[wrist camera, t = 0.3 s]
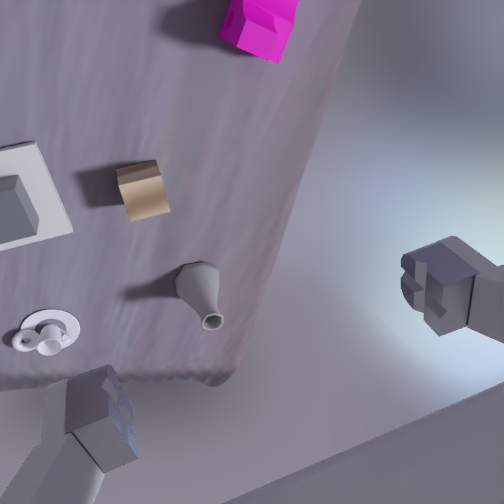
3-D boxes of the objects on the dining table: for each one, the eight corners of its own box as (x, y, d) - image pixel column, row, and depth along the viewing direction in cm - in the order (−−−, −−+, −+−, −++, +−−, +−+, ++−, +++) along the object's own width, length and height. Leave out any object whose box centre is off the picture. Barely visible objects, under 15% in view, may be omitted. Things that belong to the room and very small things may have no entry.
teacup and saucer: (10, 346, 65) (7, 366, 61) (18, 303, 61) (14, 323, 58) (74, 349, 69) (74, 369, 65) (84, 310, 65) (84, 328, 62)
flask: (169, 297, 68) (181, 342, 60) (179, 258, 65) (193, 300, 57) (213, 299, 71) (229, 342, 63) (225, 262, 68) (244, 303, 60)
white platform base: (-79, 165, 48) (-93, 184, 44) (35, 140, 50) (31, 156, 46) (-25, 253, 55) (-33, 276, 51) (73, 228, 57) (72, 248, 53)
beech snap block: (115, 168, 55) (118, 185, 51) (155, 159, 56) (161, 175, 52) (127, 203, 58) (130, 221, 54) (164, 194, 59) (170, 211, 55)
